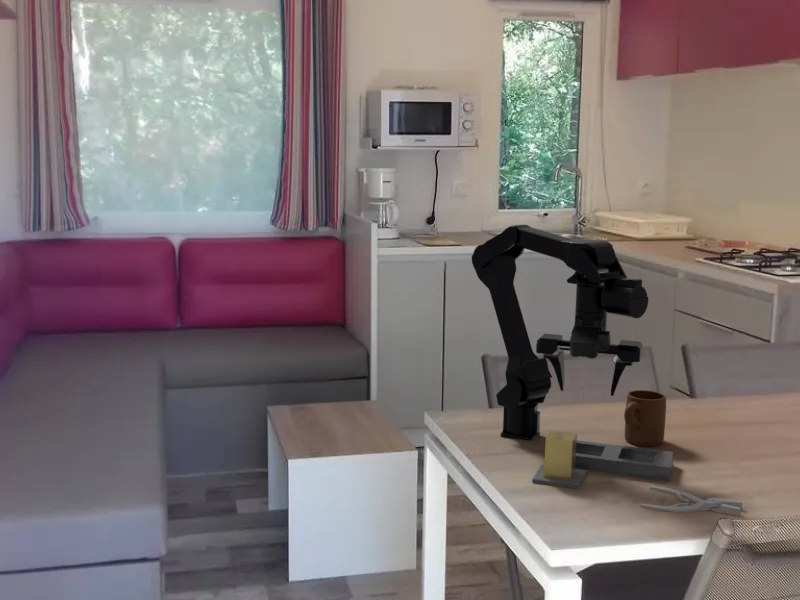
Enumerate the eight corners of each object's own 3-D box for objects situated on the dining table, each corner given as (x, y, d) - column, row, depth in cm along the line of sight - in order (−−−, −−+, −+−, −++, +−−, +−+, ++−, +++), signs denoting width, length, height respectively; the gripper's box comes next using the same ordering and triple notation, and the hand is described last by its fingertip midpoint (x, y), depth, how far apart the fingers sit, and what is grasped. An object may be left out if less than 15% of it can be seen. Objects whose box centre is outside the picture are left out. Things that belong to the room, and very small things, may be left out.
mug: (643, 455, 178) (646, 407, 177) (606, 446, 183) (609, 399, 182) (670, 440, 188) (673, 394, 186) (634, 432, 192) (637, 387, 191)
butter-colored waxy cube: (543, 477, 164) (545, 438, 163) (549, 468, 169) (550, 430, 167) (570, 480, 163) (572, 441, 162) (575, 472, 167) (576, 433, 166)
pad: (532, 482, 163) (532, 479, 163) (541, 467, 171) (541, 464, 171) (579, 488, 161) (579, 485, 161) (586, 473, 168) (586, 470, 168)
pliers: (650, 480, 162) (743, 494, 156) (650, 489, 162) (743, 504, 156) (640, 499, 153) (739, 515, 147) (640, 509, 153) (738, 525, 147)
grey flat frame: (554, 466, 172) (554, 453, 171) (562, 451, 180) (563, 438, 179) (668, 481, 165) (669, 467, 165) (672, 465, 173) (673, 451, 173)
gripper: (531, 313, 169) (528, 398, 172) (639, 321, 163) (633, 409, 166) (543, 303, 179) (540, 384, 182) (645, 311, 173) (640, 394, 176)
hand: (587, 392), depth 176 cm, fingers open, 9 cm apart
